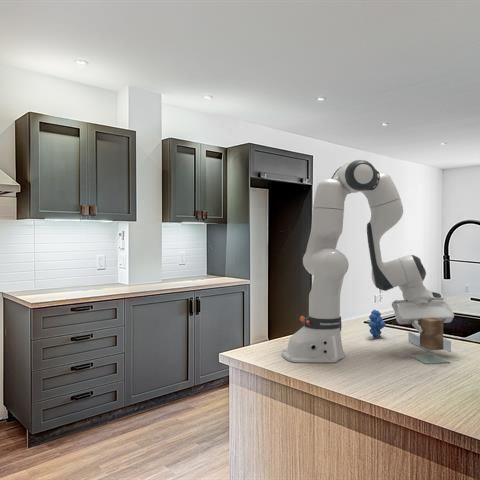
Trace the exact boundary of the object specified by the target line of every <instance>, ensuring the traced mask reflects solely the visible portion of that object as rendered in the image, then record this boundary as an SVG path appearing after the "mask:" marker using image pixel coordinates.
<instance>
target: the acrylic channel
mask: <svg viewBox="0 0 480 480" xmlns="http://www.w3.org/2000/svg"><path fill="white" fill-rule="evenodd" d="M407 333H408V335H407V336H408V337H407V338H408V339H407V340H408V341H409V342H408V343H410V342H411V343H410V344H413V345H415V346H417V347H419V346H420V334H419V335H418V334H416V333H414V332H412V331H408V332H407ZM419 348H421V346H420V347H419ZM421 349H424V350H425V351H428V352H430V353H434V352H435V350H428V349H426V348H423V347H422V348H421ZM443 350H445V351H448V352H452V339H451V340H450V339H447V338H445V337H443Z"/></svg>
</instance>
